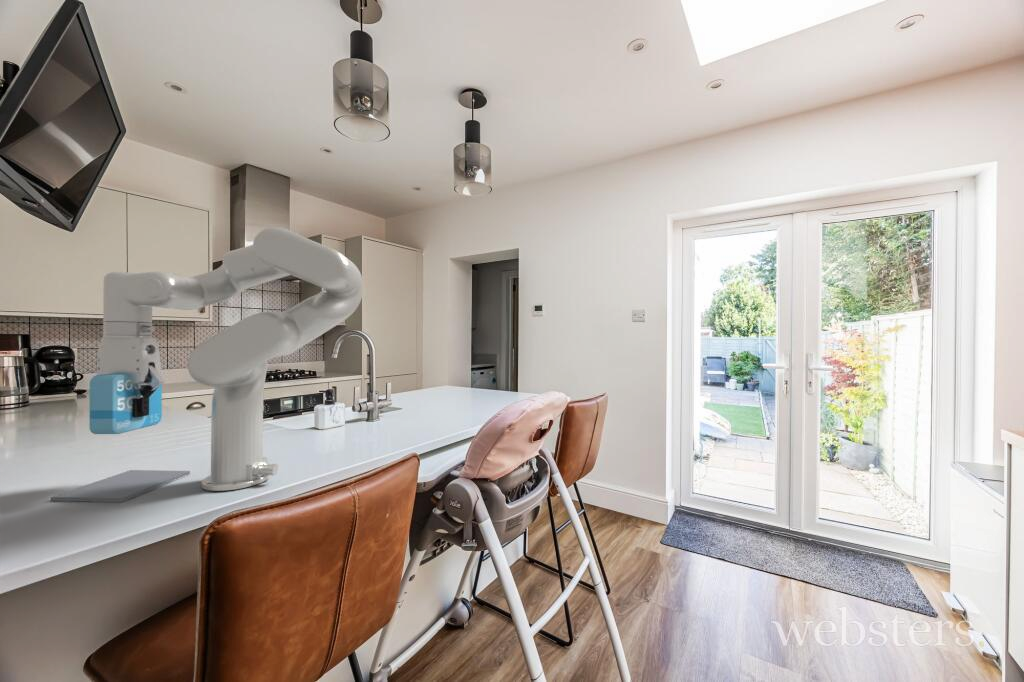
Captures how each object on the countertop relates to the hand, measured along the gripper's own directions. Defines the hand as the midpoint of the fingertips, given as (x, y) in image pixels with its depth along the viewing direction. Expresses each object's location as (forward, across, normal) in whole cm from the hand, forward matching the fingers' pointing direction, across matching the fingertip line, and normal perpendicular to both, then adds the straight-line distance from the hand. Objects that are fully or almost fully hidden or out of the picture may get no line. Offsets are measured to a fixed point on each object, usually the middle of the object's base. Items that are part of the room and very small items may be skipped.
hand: (128, 415), depth 85 cm
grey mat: (+15, 0, 0) cm, 15 cm away
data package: (+3, 0, 0) cm, 3 cm away
